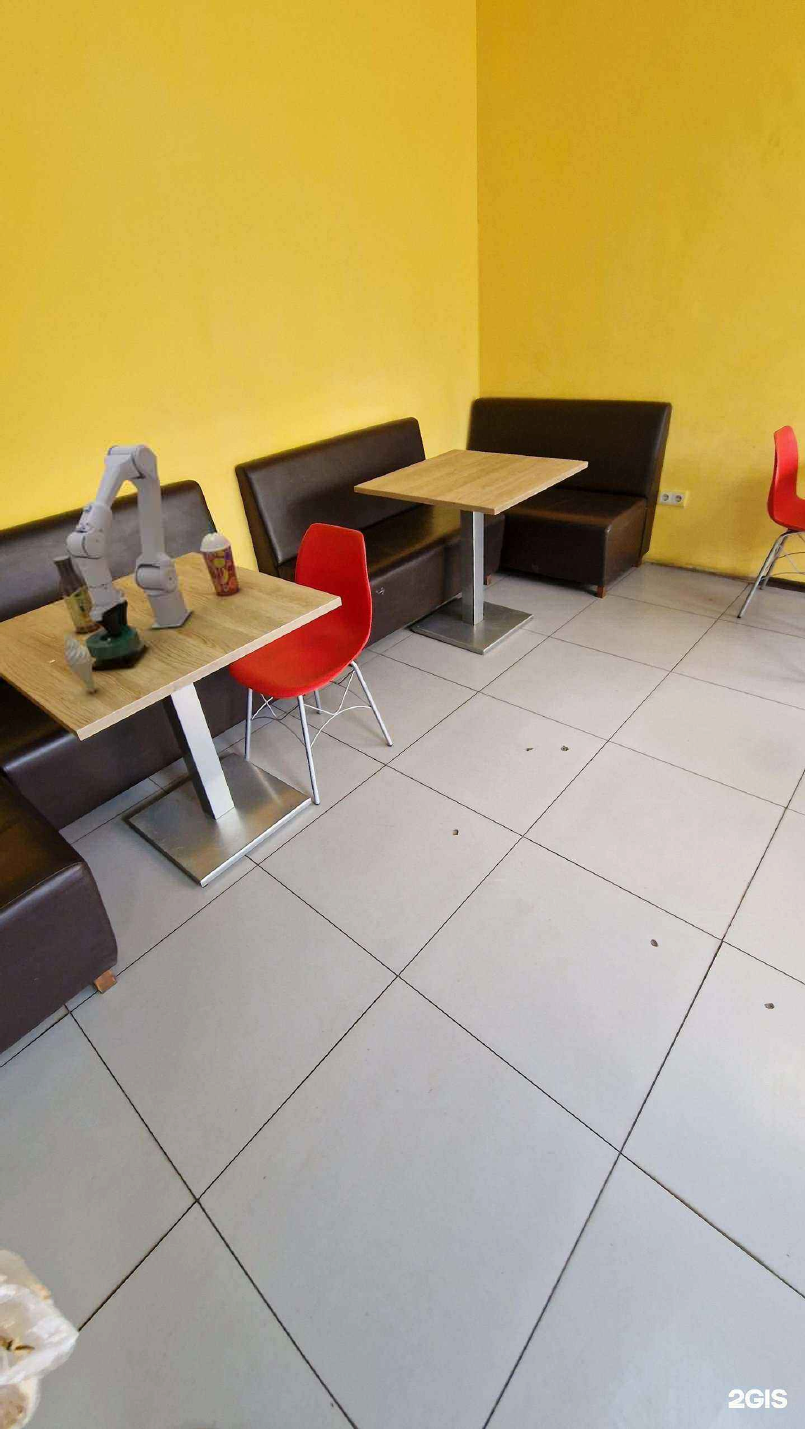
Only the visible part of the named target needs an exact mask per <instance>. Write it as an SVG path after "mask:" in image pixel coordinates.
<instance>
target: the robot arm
mask: <svg viewBox="0 0 805 1429" xmlns="http://www.w3.org/2000/svg"><path fill="white" fill-rule="evenodd" d="M103 463H104V465H105V468H104V471H103V474H102V477H101V481H100V483H99V486H98V489H97V492H96V495H95V498H94V500H93V501H89V502H87V503H86V504H84V506H83V508H82V510H83V511H82V514H81V517H80V519H79V522H78V524H77V525H76V527H75V531H73V532H71V533H69V535H68V536H67V538H66V539H65V540H66V541H65V546H66V547H65V552H66V553H67V555H68V556H70V557H72V558H73V560H74V561H75V563H76V565H78V567H79V570H80V572H81V574H82V578H83V580H84V583H85V585H86V587H87V590H88V592H89V595H90V597H91V600H92V602H93V608H92V611H91V613H90V616H91V618H92V621H96V622H98V623H99V624H100V626H101V627H102V628H103V629H105V630H106V631H107V633H108V634H109V635H110V637H116V638H118V637H120V636H121V632H120V628H119V626H120V625H129V624H128V607H129V606H128V605H129V602H128V600H126V599H125V596H126V593H125V589H124V588H122V587H121V588H116V585H115V583H114V580H113V577H112V575H111V571H110V569H109V566H108V564H107V561H106V558H105V556H104V554H105V552H106V550H107V546H106V545H107V544H106V534H107V531H108V529H109V527H110V524H111V521H112V519H113V518H114V514H113V511H112V509H111V507H112V505H113V503H114V501H115V499H116V497H117V496H118V494H119V492H120V490H121V488H122V486H123V484H124V482H125V481H128V482H130V483H131V484H132V485H133V486H134V487H135V488H136V493H137V506H138V507H137V508H138V519H139V531H140V545H141V554H140V555H138V557H137V558H136V559H135V570H134V573H133V578H134V583H135V585H136V586H137V587H138V588H139V589H142V590H143V594H146V597H147V599H148V602H149V605H150V608H151V611H152V613H153V617H154V620H155V622H154V623H153V624H152V625H151V629H163V628H165V629H166V628H176V627H181V626H182V625H183V624H184V622H185V620H186V619H187V618H188V616H189V615H190V614H191V612H192V610H191V609H188V608H187V605H186V602H185V599H184V596H183V592H182V590H181V588H180V587H178V583H179V575H178V571H177V570H176V567H175V561H174V560H173V559H172V558H171V557H169V556H168V554H166V550H165V548H166V547H165V536H164V522H163V508H162V493H161V480H160V477H159V470H158V458H157V455H156V454H155V453H154V451H153V450H152V449H151V448H150V447H149V446H148V445H146V444H137V445H111V446H110V447H109V448H108V449H107V451H106V455H105V456H104V458H103Z"/></svg>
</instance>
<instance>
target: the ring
mask: <svg viewBox="0 0 805 1429" xmlns="http://www.w3.org/2000/svg"><path fill="white" fill-rule="evenodd" d="M119 628H120V632H121V636H120V637H118V638H116V639H114V640H110V641H108V639H109V638H111V637H110V635H109V634H108V633H107V631H106V630H105V629H104V628H103V629H100V630H98V631H96V632H94V633H92V634H90V635H89V636H88V637H87V638H86V639H85V640H84V641H85V642H84V643H85V647H86V648H87V649H88V652H89V654H90V656H91V659H95V660H96V659H99V660H101V659H112V658H116V657H119V656H123V655H126V654H128V653H130V652H131V651H133V650H135V649H136V648H137V647H138V646H139V645H140V644H142V642H141V638H140V636H139V633H138V630H137V628H136V626H134V625H129V624H128V625H120V626H119Z"/></svg>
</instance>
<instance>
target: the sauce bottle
mask: <svg viewBox="0 0 805 1429" xmlns="http://www.w3.org/2000/svg"><path fill="white" fill-rule="evenodd" d="M52 561H53V563H54V565H55V566H56V569H57V571H58V574H59V576H60V578H59V583H58V584H59V586H58V587H59V589H60V591H61V594H62V597H63V600H64V603H65V605H66V607H67V610H68V612H69V615H70V618H71V621H72V622H73V625H74V627H75V628H76V631H77V632H79V633H89V632H93V631H95V630H97V629H99V628H100V626H101V625H100V624H99V623H98V622H96V621H92V618H91V616H90V613H91V611H92V608H93V603H94V602H93V599H92V597H91V594H90V592H89V589H88V587H87V584H86V583H85V581H83V580H82V579H81V577H80V576H79V574H78V573H77V572H76V570H75V567H74V564H73V561H72V558H71V556H70V555H69V554H67V555H60V556H57V557H55V558H53V560H52Z"/></svg>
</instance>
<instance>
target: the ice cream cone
mask: <svg viewBox="0 0 805 1429" xmlns="http://www.w3.org/2000/svg"><path fill="white" fill-rule="evenodd" d="M64 647H66V649H65V650H64V652H63V653H64V654H65V655H64V656H63V657H64V659H67V660H66V661H65V662H66V665H67V666H68V667H69V668H70V669H71V670H72V672H73V673H74V674H75V675H77V677H78V678H79V680H80V681H81V682H82V683H83V684H84V685H85V686H86V688H88V690H89V691H90V692H91V693H94V692H95V685H94V684H95V683H94V674H93V673H94V672H93V671H92V664H93V663H92V657H91V655H90V653H89V651H88V648H87V647H86V646H84V645H82V644H80V643H79V641H78V640H77V639H75V638H74V637H73V636H71V635H70V633H69V632H68V631H65V644H64Z"/></svg>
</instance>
